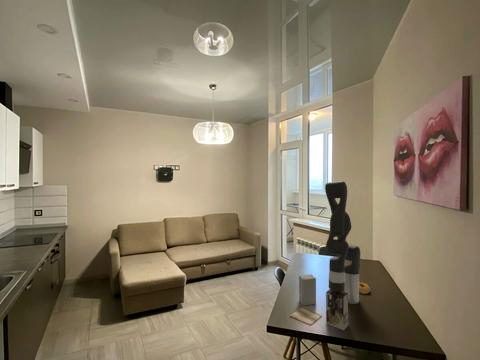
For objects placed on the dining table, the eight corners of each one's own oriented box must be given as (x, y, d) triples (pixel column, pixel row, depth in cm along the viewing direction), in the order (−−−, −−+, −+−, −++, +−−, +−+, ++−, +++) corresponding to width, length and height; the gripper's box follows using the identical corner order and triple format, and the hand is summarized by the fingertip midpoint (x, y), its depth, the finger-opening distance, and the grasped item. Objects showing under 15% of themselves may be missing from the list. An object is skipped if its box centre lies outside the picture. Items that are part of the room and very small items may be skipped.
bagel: (356, 294, 164) (356, 286, 164) (351, 287, 175) (351, 280, 175) (373, 295, 162) (373, 287, 162) (367, 288, 173) (367, 281, 173)
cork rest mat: (301, 308, 145) (301, 307, 145) (321, 316, 137) (321, 314, 137) (290, 316, 136) (290, 315, 136) (310, 325, 128) (310, 324, 128)
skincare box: (311, 299, 156) (311, 273, 156) (316, 305, 149) (317, 277, 149) (298, 300, 154) (298, 274, 154) (303, 306, 147) (303, 278, 147)
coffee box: (348, 325, 128) (348, 292, 128) (343, 330, 123) (344, 297, 123) (330, 318, 134) (330, 287, 134) (325, 323, 130) (325, 291, 130)
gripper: (335, 274, 137) (335, 304, 137) (323, 281, 126) (322, 314, 126) (349, 277, 131) (349, 309, 131) (338, 285, 121) (337, 320, 121)
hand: (336, 311), depth 129 cm, fingers open, 8 cm apart
